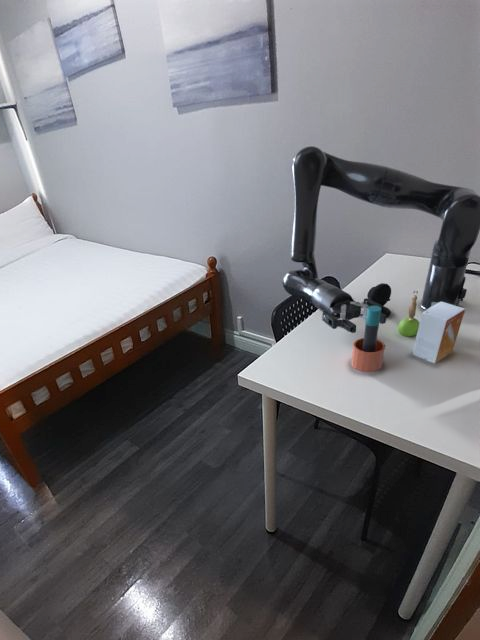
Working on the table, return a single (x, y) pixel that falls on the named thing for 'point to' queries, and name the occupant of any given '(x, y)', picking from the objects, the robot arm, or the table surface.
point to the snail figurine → (410, 320)
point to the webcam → (381, 296)
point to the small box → (438, 331)
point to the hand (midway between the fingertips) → (370, 324)
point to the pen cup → (367, 356)
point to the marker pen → (371, 328)
